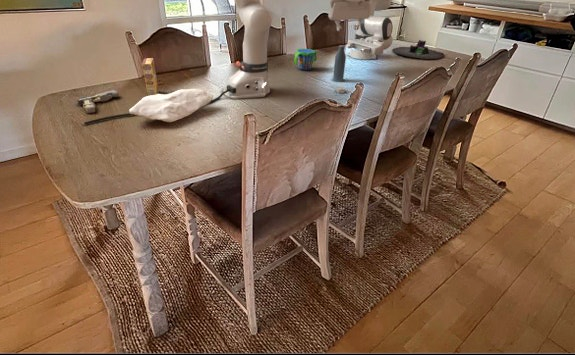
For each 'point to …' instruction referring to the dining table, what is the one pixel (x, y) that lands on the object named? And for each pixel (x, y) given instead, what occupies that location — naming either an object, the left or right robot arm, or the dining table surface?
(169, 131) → the dining table surface
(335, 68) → the bottle
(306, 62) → the snack cup
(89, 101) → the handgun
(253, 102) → the dining table surface
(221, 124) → the dining table surface
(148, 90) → the candy box
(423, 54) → the dark round tray
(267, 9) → the left robot arm
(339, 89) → the cap
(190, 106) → the crumpled cloth
